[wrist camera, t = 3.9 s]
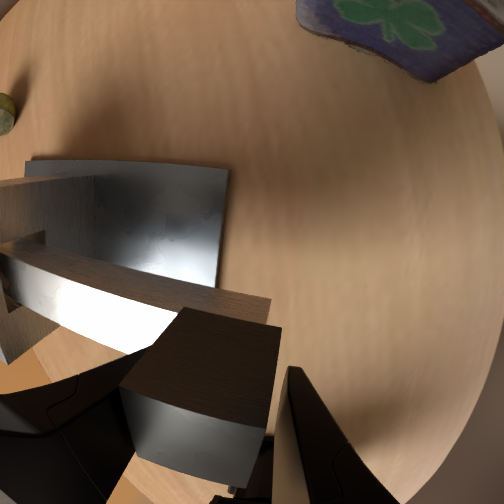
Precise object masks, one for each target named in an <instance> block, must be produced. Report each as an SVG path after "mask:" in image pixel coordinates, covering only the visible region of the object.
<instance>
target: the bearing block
mask: <svg viewBox="0 0 504 504" xmlns="http://www.w3.org/2000/svg"><path fill="white" fill-rule="evenodd" d="M230 172H231V170H229V169H221V168H212V167H203V166H193V165H182V164H170V163H156V162H140V161H118V160H36V161H25V175H24V177H22V178H15V179H8V180H2V181H0V245H1V244H4V243H7V242H9V241H12V240H15V239H18V238H24V239H27V240H30V241H34V242H37V243H40V244H44V245H47V246H50V247H54V248H57V249H61V250H64V251H68V252H71V253H75V254H79V255H82V256H86V257H90V258H93V259H97V260H101V261H105V262H108V263H112V264H116V265H120V266H124V267H128V268H132V269H136V270H140V271H144V272H148V273H152V274H157V275H161V276H165V277H169V278H174V279H178V280H182V281H187V282H191V283H196V284H200V285H205V286H210V287H214V288H217V281H218V271H219V262H220V253H221V244H222V235H223V227H224V218H225V210H226V202H227V194H228V187H229V179H230ZM59 326H61V325H60V324H58V323H56V322H54V321H52V320H50V319H48V318H46V317H45V316H43V315H41V314H39V313H37V312H35V311H33V310H31V309H30V308H28V307H26V306H24V305H23V304H21V303H19V302H17V301H16V300H14V299H12V298H11V297H9V296H7V295H6V294H4V293H3V288H2V283H1V278H0V359H1V360H2V361H3V362H4V363H6V364H7V365H9V364H11V363H12V362H13V361H14V360H16V359H17V358H18V357H19V356H21V355H22V354H23V353H25V352H26V351H27V350H29V349H30V348H31V347H32V346H34V345H35V344H36V343H38V342H39V341H40V340H42V339H43V338H44V337H46V336H47V335H49V334H50V333H51V332H53V331H54V330H55V329H57V328H58V327H59Z"/></svg>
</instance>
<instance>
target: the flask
mask: <svg viewBox="0 0 504 504" xmlns="http://www.w3.org/2000/svg"><path fill="white" fill-rule="evenodd" d="M296 18H297V21H298V22H299V25H300V26H301V27H302V28H304V29H305V30H307V31H309V32H310V33H312V34H315V35H317V36H319V37H321V38H324V39H328V38H331V39H335V40H337V41H339V42H343V43H344V44H347V45H348V46H349V47H350V48H353V49H356V50H357V51H358V52H363V53H364V54H369V55H370V54H372V55H378V56H380V57H382V58H383V59H384V60H385V63H389V64H390V63H391V64H395V65H397V66H399V67H400V68H401V69H402V70H403V72H406V73H408V74H409V75H411V76H412V77H413V78H415V79H417V80H418V81H420V82H421V83H426V84H427V83H437V82H436V81H437V80H439V79H441V78H443V77H444V76H447V75H448V74H449V73H451V72H453V71H455V70H457V69H458V68H460V67H462V66H465V65H466V64H468V63H470V62H471V61H472V60H474V59H475V58H477V57H479V56H482V55H484V54H486V53H488V52H489V51H492V50H494V49H496V48H498V47H500V46H501V45H503V44H504V0H296Z"/></svg>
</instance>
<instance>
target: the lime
mask: <svg viewBox="0 0 504 504" xmlns="http://www.w3.org/2000/svg"><path fill="white" fill-rule="evenodd" d="M15 114H16V110H15V105H14V102H13V100H12V98H11V97H10V96H9V95H7V94H5V93H0V136H2V135H5V134H7V133H8V132H9V131H10V130H11V129H12V128H13V125H14V120H15Z"/></svg>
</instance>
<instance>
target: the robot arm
mask: <svg viewBox="0 0 504 504" xmlns="http://www.w3.org/2000/svg"><path fill="white" fill-rule="evenodd" d="M150 346H151V345H149V346H147V347H145V348H142V349H140V350H137V351H135V352H133V353H130V354H128V355H125V356H123V357H120V358H118V359H116V360H113V361H111V362H108V363H106V364H103V365H101V366H98V367H95V368H93V369H90V370H88V371H85V372H83V373H80V374H79V375H78V374H77V375H74V376H72V377H69V378H66V379H63V380H60V381H58V382H55V383H51V384H48V385H44V386H40V387H36V388H32V389H28V390H23V391H19V392H14V393H10V394H0V504H106V502H107V500H108V499H109V497H110V495H111V493H112V491H113V490H114V488H115V486H116V484H117V483H118V481H119V479H120V477H121V475H122V474H123V472H124V470H125V469H126V467H127V465H128V463H129V462H130V460H131V458H132V456H133V455H134V453H135V447H134V444H133V441H132V438H131V434H130V431H129V427H128V424H127V420H126V416H125V412H124V408H123V404H122V400H121V396H120V391H119V387H118V385H119V384H120V382H121V381H122V380H123V379H124V378H125V376H126V375H127V374H128V373H129V371H130V370H131V369H132V368H133V367H134V365H135V364H136V363H137V362H138V361H139V359H140V358H141V357H142V356H143V355H144V353H145V352H146V351H147V350H148V349H149V347H150ZM228 493H229V494H233V498H227V497H222V496H220V495H215V496H214V497H213V499H212V501H210V503H209V504H400V503H399V502H398V501H397V500H396V499H395V498H394V497H393V496H392V495H391V493H390V492H389V491H388V490H387V489H386V488H385V487H384V486H383V485H382V484H381V483H380V481H379V480H378V479H377V478H376V477H375V476H374V475H373V473H372V472H371V471H370V470H369V469H368V467H367V466H366V465H365V464H364V463H363V461H362V460H361V458H360V457H359V456H358V454H357V453H356V451H355V450H354V448H353V447H352V445H351V444H350V443H349V442H348V439H347V438H346V436H345V435H344V433H343V432H342V430H341V429H340V427H339V426H338V424H337V422H336V421H335V419H334V418H333V416H332V415H331V413H330V412H329V410H328V409H327V407H326V405H325V404H324V402H323V401H322V399H321V398H320V396H319V394H318V393H317V391H316V390H315V388H314V387H313V385H312V383H311V382H310V380H309V379H308V377H307V376H306V374H305V372H304V371H303V369H302V368H301V367H296V366H288V367H287V370H286V374H285V378H284V381H283V385H282V390H281V396H280V402H279V408H278V414H277V420H276V426H275V437H274V438H269V437H264V438H263V441H262V444H261V447H260V450H259V453H258V456H257V459H256V462H255V465H254V467H253V470H252V473H251V476H250V479H249V481H248V484H247V487H246V489H244V488H239V487H234V486H230V485H229V487H228Z"/></svg>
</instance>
